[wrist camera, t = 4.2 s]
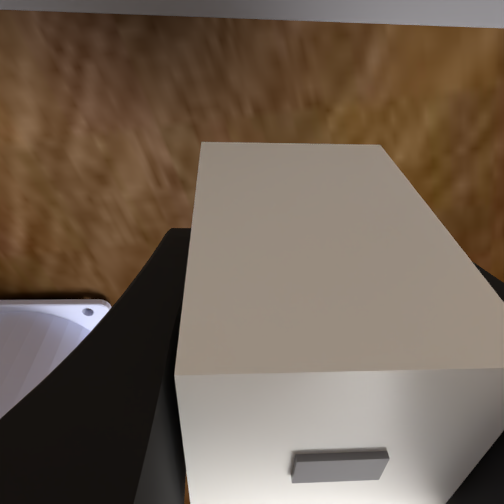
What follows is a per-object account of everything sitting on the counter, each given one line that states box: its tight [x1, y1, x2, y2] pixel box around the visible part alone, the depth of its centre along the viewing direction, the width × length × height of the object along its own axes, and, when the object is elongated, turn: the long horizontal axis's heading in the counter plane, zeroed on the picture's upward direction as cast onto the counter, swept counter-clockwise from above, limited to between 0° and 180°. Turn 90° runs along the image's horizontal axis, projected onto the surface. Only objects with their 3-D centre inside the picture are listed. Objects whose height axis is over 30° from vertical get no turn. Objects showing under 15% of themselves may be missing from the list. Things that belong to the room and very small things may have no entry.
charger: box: [174, 142, 504, 504], centre depth 8 cm, size 4×4×6 cm
